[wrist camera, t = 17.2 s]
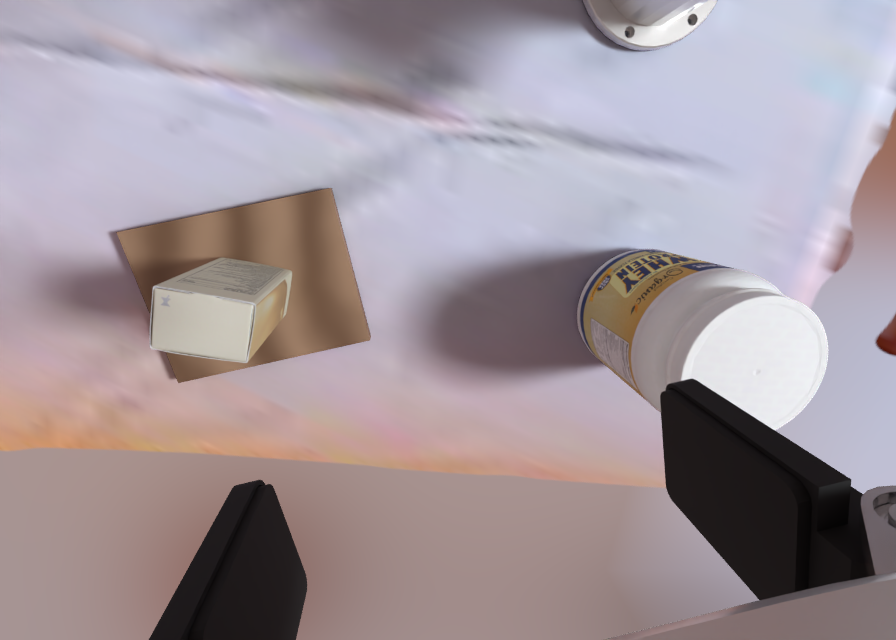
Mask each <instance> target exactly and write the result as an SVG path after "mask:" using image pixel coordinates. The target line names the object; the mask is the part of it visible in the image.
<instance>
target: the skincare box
mask: <svg viewBox="0 0 896 640" xmlns="http://www.w3.org/2000/svg"><path fill="white" fill-rule="evenodd" d="M291 280H292V271H291V270H288V269H283V268H279V267H274V266H269V265H264V264H259V263H253V262H248V261H242V260H236V259H229V258H223V257H221V258H218V259H216V260H214V261H211V262H209V263H207V264H204V265H202V266H199V267H197V268H195V269H193V270H190V271H188V272H185V273H183V274H181V275H178V276H176V277H174V278H171V279H169V280H167V281H164V282H162V283H160V284H157V285H155V286H153V291H152V304H151V316H150V348H151V349H154V350H159V351H164V352H169V353H175V354H180V355H187V356H194V357H201V358H208V359H215V360H223V361H231V362H240V363H247V362H248V361H249V360H250V359H251V357H252V356H253V355H254V354H255V352H256V351H257V350H258V349H259V347H260V346H261V345H262V344H263V342H264V341H265V340H266V339H267V337H268V336H269V335H270V334H271V333H272V331H273V330H274V329H275V327H276V326H277V325H278V324H279V322H280V321H281V320H282V319H283V318H284V316H285V315H286V311H287V306H288V300H289V294H290V287H291Z"/></svg>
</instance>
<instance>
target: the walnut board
mask: <svg viewBox="0 0 896 640" xmlns="http://www.w3.org/2000/svg"><path fill="white" fill-rule="evenodd" d="M116 233H117V235H118V237H119V240H120V242H121V245H122V247H123V250H124V252H125V254H126V257H127V259H128V262H129V264H130V267H131V269H132V272H133V274H134V276H135V279H136V281H137V284H138V286H139V289H140V291H141V293H142V296H143V298H144V301H145V303H146V306H147V308H148V310H149V313H150V315H151V304H152V291H153V286H155V285H157V284H160V283H162V282H164V281H167V280H169V279H171V278H174V277H176V276H178V275H181V274H183V273H185V272H188V271H190V270H193V269H195V268H197V267H199V266H202V265H204V264H207V263H209V262H211V261H214V260H216V259H218V258H221V257H223V258H229V259H236V260H242V261H248V262H253V263H259V264H264V265H269V266H274V267H279V268H283V269H288V270H291V271H292V280H291V287H290V294H289V300H288V306H287V311H286V315H285V316H284V318H283V319H282V320H281V321H280V322H279V324H278V325H277V326H276V327H275V329H274V330H273V331H272V333H271V334H270V335H269V336H268V337H267V339H266V340H265V341H264V342H263V344H262V345H261V346H260V347H259V349H258V350H257V351H256V352H255V354H254V355H253V356H252V357H251V359H250V360H249V361H248V362H247V363H240V362H231V361H223V360H215V359H208V358H201V357H194V356H187V355H180V354H175V353H169V352H166V354H167V357H168V359H169V361H170V364H171V366H172V369H173V371H174V374H175V376H176V379H177V381H178V383H180V382H185V381H189V380H194V379H198V378H203V377H207V376H212V375H216V374H221V373H225V372H230V371H234V370H239V369H243V368H248V367H252V366H257V365H261V364H266V363H270V362H275V361H279V360H283V359H288V358H292V357H297V356H301V355H306V354H310V353H315V352H319V351H324V350H328V349H333V348H337V347H342V346H346V345H351V344H355V343H360V342H364V341H369V340H370V338H371V335H370V331H369V328H368V324H367V320H366V316H365V312H364V309H363V305H362V301H361V297H360V293H359V290H358V286H357V282H356V278H355V275H354V271H353V267H352V263H351V259H350V256H349V252H348V248H347V244H346V241H345V237H344V233H343V229H342V225H341V222H340V218H339V214H338V210H337V207H336V203H335V199H334V195H333V191H332V188H328V189H323V190H318V191H314V192H309V193H304V194H299V195H294V196H289V197H285V198H280V199H275V200H270V201H265V202H261V203H256V204H251V205H246V206H241V207H236V208H232V209H227V210H222V211H217V212H212V213H207V214H203V215H198V216H193V217H188V218H183V219H179V220H174V221H169V222H164V223H159V224H154V225H150V226H145V227H140V228H135V229H130V230H125V231H121V232H116Z"/></svg>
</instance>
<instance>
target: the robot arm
mask: <svg viewBox="0 0 896 640" xmlns="http://www.w3.org/2000/svg"><path fill="white" fill-rule="evenodd" d="M717 1H718V0H583V2H584V5H585V7H586V10H587V12H588V14H589V16H590V17H591V19H592V20H593V22H594V23H595V25H596V26H597V28H598V29H599V30H600V31H601V32H602V33H603V34H604V35H605V36H606V37H608V38H609V39H611V40H612V41H614V42H615V43H617V44H619V45H621V46H624V47H626V48H629V49H634V50H642V51H646V50H657V49H660V48H663V47H666V46H669V45H671V44H673V43H675V42H677V41H679V40H681V39H683V38H684V37H686V36H687V35H689V34H690V33H692V32H693V31H694V30H695V29H696V28H697V27H698V26H699V25H700V24H701V23H703V22H704V21H705V19H706V18H707V17H708V15H709V14H710V12H711V11H712V10H713V8H714V7H715V5H716V3H717ZM625 33H626V34H627V37H626V36H625ZM660 403H661V418H662V433H663V448H664V463H665V478H666V488H667V491H668V494H669V495H670V498H671V499H672V501H673V502H674V503H675V504H676V506H677V507H678V508H679V509H680V510H681V511H682V512H683V513H684V515H685V516H686V517H687V518H688V519H689V520H690V521H691V523H692V524H693V525H694V526H695V527H696V528H697V529H698V530H699V532H700V533H701V534H702V535H703V536H704V537H705V538H706V540H707V541H708V542H709V543H710V544H711V545H712V546H713V548H714V549H715V550H716V551H717V552H718V553H719V554H720V556H721V557H722V558H723V559H724V560H725V561H726V562H727V563H728V565H729V566H730V567H731V568H732V569H733V570H734V571H735V573H736V574H737V575H738V576H739V577H740V578H741V579H742V581H743V582H744V583H745V584H746V585H747V586H748V587H749V589H750V590H751V591H752V592H753V593H754V594H755V595H756V596H757V598H758V599H759V600H760V601H755V602H751V603H747V604H743V605H739V606H735V607H731V608H728V609H723V610H719V611H716V612H712V613H708V614H703V615H700V616H696V617H692V618H688V619H684V620H680V621H676V622H672V623H668V624H664V625H660V626H656V627H652V628H648V629H644V630H641V631H636V632H632V633H628V634H625V635H620V636H617V637H613V638H609V639H605V640H896V486H883V487H876V488H873V489H871V490H868V491H867V492H866V493H864V494H862V493H860V492H858V491H857V490H856V489H854V488H853V487H851V479H850V478H848V477H846V476H845V475H843V474H842V473H840V472H838V471H837V470H835V469H834V468H832V467H831V466H829V465H828V464H826V463H825V462H823V461H821V460H820V459H818V458H817V457H815V456H814V455H812V454H811V453H809V452H807V451H806V450H804V449H803V448H801V447H800V446H798V445H797V444H795V443H793V442H792V441H790V440H789V439H787V438H786V437H784V436H782V435H781V434H779V433H778V432H776V431H775V430H773V429H772V428H770V427H769V426H767V425H765V424H764V423H762V422H761V421H759V420H758V419H756V418H755V417H753V416H751V415H750V414H748V413H747V412H745V411H744V410H742V409H741V408H739V407H737V406H736V405H734V404H733V403H731V402H730V401H728V400H727V399H725V398H723V397H722V396H720V395H719V394H717V393H716V392H714V391H712V390H711V389H709V388H708V387H706V386H705V385H703V384H702V383H700V382H698V381H697V380H695V379H687V380H683V381H679V382H674V383H670V384H668V385H667V386H666V391H663V392H662V393H661V395H660ZM306 592H307V579H306V574H305V571H304V568H303V566H302V563H301V560H300V557H299V555H298V552H297V549H296V547H295V544H294V541H293V539H292V536H291V533H290V531H289V528H288V525H287V522H286V520H285V517H284V514H283V512H282V509H281V506H280V504H279V501H278V498H277V495H276V493H275V491H274V488H273V486H272V485H271V484H268V485H265V483H264V482H263V481H262V480H257V481H252V482H248V483H244V484H240V485H236V486H234V487H233V488H232V490H231V492H230V494H229V495H228V497H227V499H226V501H225V503H224V504H223V506H222V508H221V510H220V512H219V514H218V515H217V517H216V519H215V521H214V522H213V525H212V526H211V528H210V530H209V532H208V533H207V535H206V537H205V539H204V541H203V542H202V545H201V546H200V548H199V550H198V551H197V553H196V555H195V557H194V559H193V561H192V562H191V564H190V566H189V568H188V570H187V571H186V573H185V575H184V577H183V579H182V581H181V582H180V584H179V586H178V588H177V590H176V591H175V593H174V595H173V597H172V599H171V600H170V602H169V604H168V606H167V608H166V610H165V611H164V613H163V615H162V617H161V619H160V620H159V622H158V624H157V626H156V628H155V630H154V631H153V633H152V635H151V637H150V638H149V640H296V636H297V632H298V627H299V623H300V619H301V614H302V610H303V605H304V601H305V597H306Z"/></svg>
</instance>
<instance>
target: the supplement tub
mask: <svg viewBox="0 0 896 640" xmlns="http://www.w3.org/2000/svg"><path fill="white" fill-rule="evenodd" d="M577 324H578V329H579V332H580V335H581V337H582V339H583V341H584V343H585V344H586V346H587V348H588V349H589V350H590V352H591V353H592V354H593V355H594V356H595V357H596V358H598V359H599V360H600V361H601V362H603V363H604V364H605V365H606V366H607V367H608V368H609V369H610V370H612V371H613V372H614V373H615V374H616V375H617V376H618V377H620V378H621V379H622V380H623V381H624V382H625V383H627V384H628V385H629V386H630V387H631V388H632V389H634V390H635V391H636V392H637V393H638V394H639V395H641V396H642V397H643V398H644V399H645V400H647V401H648V402H649V403H650V404H651V405H652V406H653V407H654V408H655V409H657V410H658V411H659V412H661V403H660V395H661V393H662V392H663V391H666V386H667V385H668V384H670V383H674V382H679V381H683V380H687V379H695V380H697V381H698V382H700V383H702V384H703V385H705V386H706V387H708V388H709V389H711V390H712V391H714V392H716V393H717V394H719V395H720V396H722V397H723V398H725V399H727V400H728V401H730V402H731V403H733V404H734V405H736V406H737V407H739V408H741V409H742V410H744V411H745V412H747V413H748V414H750V415H751V416H753V417H755V418H756V419H758V420H759V421H761V422H762V423H764V424H765V425H767V426H769V427H770V428H772V429H773V430H777V429H778V428H780V427H782V426H783V425H785V424H786V423H788V422H789V421H791V420H792V419H793V418H794V417H796V416H797V415H798V414H799V413H800V412H801V411H802V410H803V409H804V408H805V406H806V405H807V404H808V403H809V402H810V400H811V399H812V397H813V396H814V394H815V393H816V391H817V389H818V387H819V385H820V384H821V381H822V379H823V376H824V373H825V370H826V366H827V359H828V341H827V337H826V332H825V330H824V327H823V326H822V323H821V321H820V320H819V318H818V317H817V316H816V314H815V313H814V312H813V311H812V310H811V309H809V308H808V307H807V306H805V305H804V304H802V303H801V302H799V301H796V300H794V299H791V298H789V297H787V296H785V295H784V294H782V293H781V292H780V291H779V290H778V289H777V288H776V287H775V286H774V285H773V284H771V283H770V282H768V281H767V280H765V279H763V278H761V277H759V276H757V275H755V274H753V273H750V272H748V271H744V270H739V269H734V268H729V267H725V266H721V265H717V264H713V263H709V262H705V261H701V260H697V259H693V258H689V257H685V256H681V255H676V254H672V253H668V252H665V251H661V250H657V249H639V250H633V251H628V252H625V253H622V254H620V255H617V256H615V257H613V258H612V259H610V260H608V261H607V262H606V263H604V264H603V265H602V266H601V267H600V268H599V269H598V270H597V271H596V272H595V273H594V274H593V275H592V276H591V278H590V279H589V280H588V282H587V284H586V285H585V287H584V289H583V291H582V293H581V296H580V299H579V303H578V309H577Z"/></svg>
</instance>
